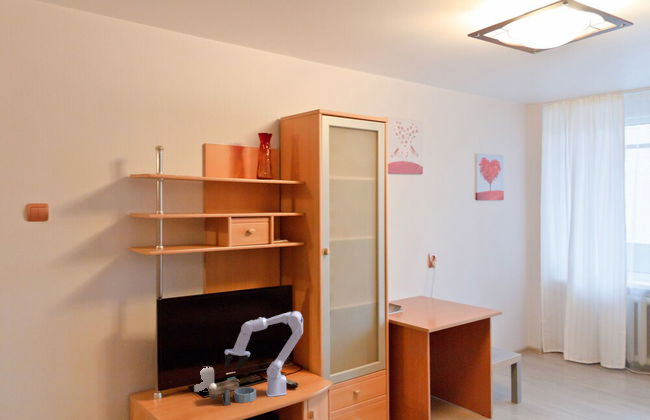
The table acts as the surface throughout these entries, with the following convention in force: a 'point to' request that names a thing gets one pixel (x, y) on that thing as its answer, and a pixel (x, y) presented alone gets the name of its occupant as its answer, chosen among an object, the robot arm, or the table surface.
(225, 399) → the lever stand
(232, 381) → the tipping ramp
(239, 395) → the blue-grey round bin
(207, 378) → the white upright shaped piece
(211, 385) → the ball
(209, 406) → the table surface
